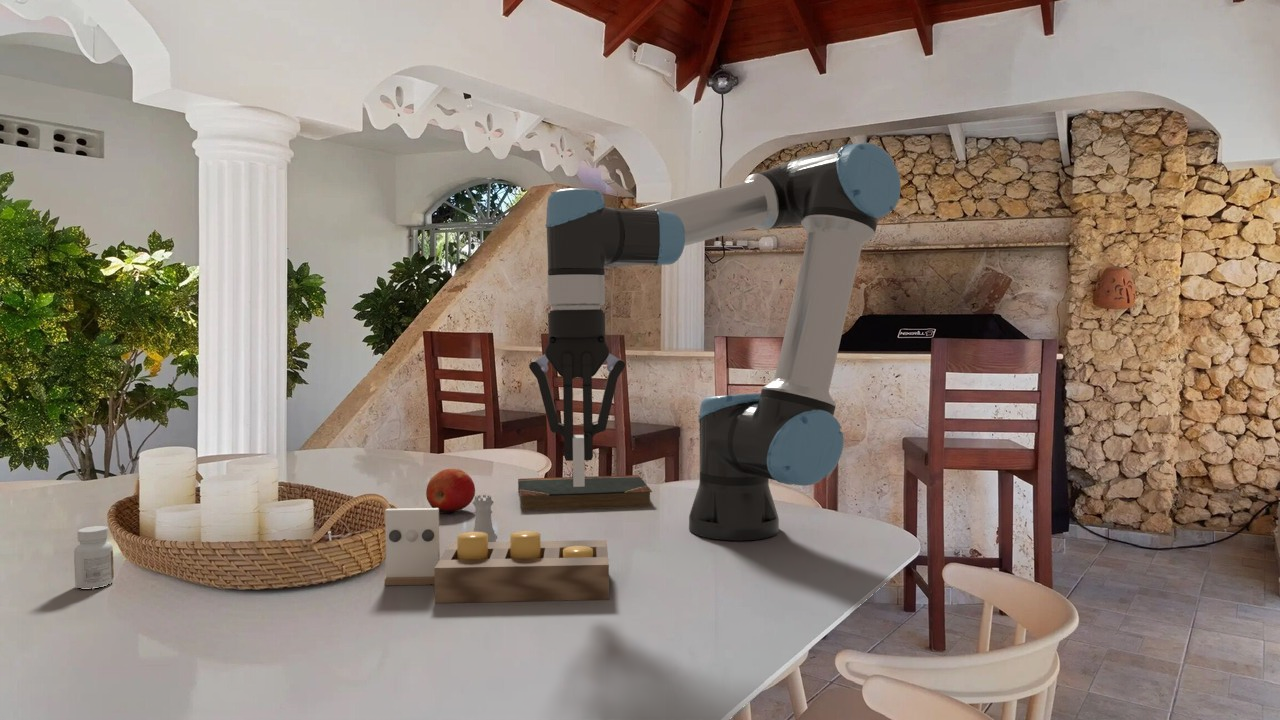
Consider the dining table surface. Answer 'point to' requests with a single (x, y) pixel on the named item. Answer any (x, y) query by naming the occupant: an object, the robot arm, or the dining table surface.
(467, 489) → the apple
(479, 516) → the rook chess piece
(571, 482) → the book
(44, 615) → the dining table surface
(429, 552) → the card
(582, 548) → the button
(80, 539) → the pill bottle
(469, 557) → the button
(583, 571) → the board
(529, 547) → the button middle
